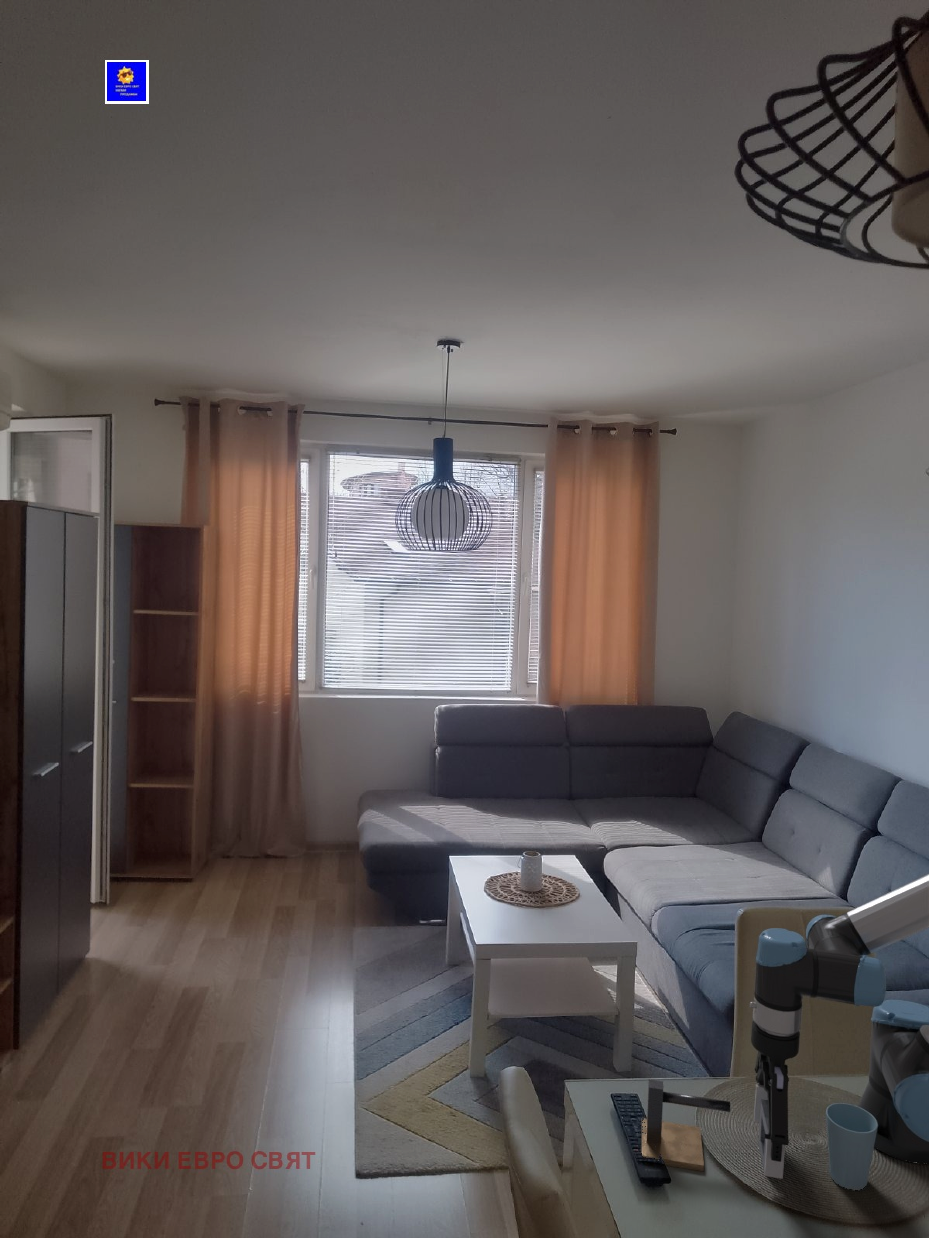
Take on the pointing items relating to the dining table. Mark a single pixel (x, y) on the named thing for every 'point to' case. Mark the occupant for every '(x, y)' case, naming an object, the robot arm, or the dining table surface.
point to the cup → (850, 1144)
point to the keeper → (674, 1129)
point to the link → (763, 1129)
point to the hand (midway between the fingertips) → (767, 1147)
